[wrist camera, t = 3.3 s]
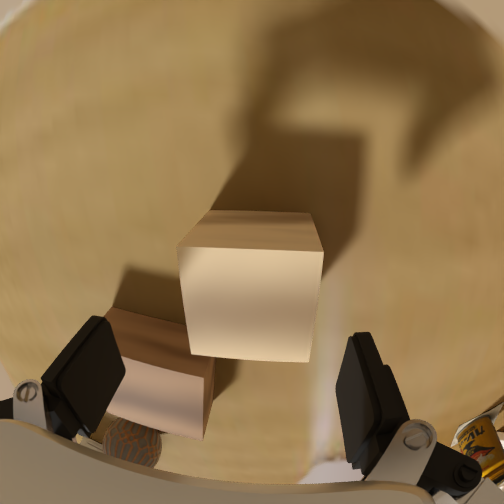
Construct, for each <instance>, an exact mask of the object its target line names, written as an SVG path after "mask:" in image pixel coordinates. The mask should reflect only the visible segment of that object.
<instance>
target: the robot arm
mask: <svg viewBox="0 0 504 504" xmlns="http://www.w3.org/2000/svg"><path fill="white" fill-rule="evenodd" d="M125 373H126V368H125V365H124V363H123V360H122V357H121V354H120V351H119V349H118V346H117V343H116V340H115V337H114V334H113V330H112V327H111V324H110V322H109V321H107V319H106V318H105V317H100V316H91V317H90V318H89V320H88V321H87V322H86V323H85V324H84V325H83V326H82V328H81V329H80V330H79V331H78V332H77V334H76V335H75V336H74V337H73V338H72V339H71V341H70V342H69V343H68V344H67V345H66V347H65V348H64V349H63V350H62V352H61V353H60V354H59V355H58V357H57V358H56V359H55V360H54V362H53V363H52V364H51V365H50V367H49V368H48V369H47V370H46V372H45V373H44V374H43V376H42V377H41V380H42V381H43V382H42V384H40V383H39V382H38V381H36V380H33V379H29V380H25V381H22V382H21V383H19V384H18V385H17V387H16V388H15V390H14V393H13V398H9V399H6V400H3V401H0V504H504V492H503V491H502V490H501V489H500V488H499V487H498V486H497V485H496V484H495V483H493V482H492V481H491V480H490V479H489V478H488V477H487V478H486V479H484V478H483V477H482V468H481V466H480V464H479V463H478V461H476V460H475V459H473V458H471V457H469V456H467V455H464V454H462V453H460V452H458V451H456V450H453V449H451V448H449V447H447V446H445V445H443V444H441V443H439V442H437V434H436V431H435V429H434V428H433V427H432V425H431V424H429V423H428V422H426V421H423V420H420V419H413V420H410V418H409V415H408V412H407V409H406V407H405V404H404V401H403V399H402V396H401V393H400V391H399V388H398V385H397V383H396V380H395V378H394V375H393V373H392V370H391V368H390V366H389V365H383V363H382V360H381V358H380V355H379V353H378V350H377V348H376V345H375V343H374V340H373V338H372V336H371V333H370V332H356V333H354V335H353V336H350V337H349V338H348V342H347V346H346V350H345V354H344V358H343V361H342V365H341V369H340V372H339V376H338V379H337V383H336V397H337V402H338V408H339V414H340V420H341V426H342V432H343V438H344V445H345V452H346V459H347V462H348V463H352V468H353V469H361V472H362V474H363V475H364V477H363V478H362V480H361V481H351V482H335V483H321V484H254V483H240V482H229V481H220V480H212V479H205V478H199V477H192V476H187V475H181V474H176V473H172V472H167V471H162V470H158V469H154V468H150V467H146V466H142V465H139V464H135V463H132V462H128V461H125V460H122V459H119V458H116V457H113V456H110V455H107V454H104V453H101V452H98V451H96V450H93V449H90V448H88V447H85V446H83V445H80V444H78V443H77V441H76V437H75V436H76V434H77V433H78V434H79V435H81V436H84V437H86V438H89V437H90V435H91V433H94V432H95V431H96V429H97V427H98V425H99V423H100V421H101V419H102V417H103V415H104V414H105V412H106V410H107V408H108V406H109V404H110V402H111V400H112V398H113V396H114V395H115V393H116V391H117V389H118V387H119V385H120V384H121V382H122V380H123V378H124V376H125Z"/></svg>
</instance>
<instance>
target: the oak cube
mask: <svg viewBox="0 0 504 504" xmlns="http://www.w3.org/2000/svg"><path fill="white" fill-rule="evenodd" d="M176 248H177V257H178V266H179V274H180V282H181V290H182V297H183V305H184V312H185V318H186V325H187V331H188V337H189V343H190V349H191V354H194V355H202V356H211V357H221V358H232V359H245V360H260V361H279V362H309V357H310V351H311V345H312V339H313V332H314V326H315V319H316V312H317V305H318V298H319V290H320V282H321V274H322V265H323V256H324V251H323V248H322V245H321V242H320V239H319V236H318V233H317V230H316V228H315V225H314V222H313V219H312V216H311V214H310V213H300V212H273V211H235V210H209V211H208V212H207V213H206V214H205V216H204V217H203V218H202V219H201V220H200V221H199V222H198V223H197V224H196V225H195V226H194V227H193V229H192V230H191V231H190V232H189V233H188V234H187V235H186V236H185V237H184V238H183V240H182V241H181V242H180V243H179V244H178V245H177V246H176Z"/></svg>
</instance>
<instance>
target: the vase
mask: <svg viewBox="0 0 504 504" xmlns="http://www.w3.org/2000/svg"><path fill="white" fill-rule="evenodd" d="M161 449H162V442H161V437H160V434H159V432H158V430H157V429H154V428H151V427H147V426H144V425H141V424H138V423H135V422H132V421H129V420H127V419H124V418H121V417H119V418H117V419H116V420H115V421H113V422H112V423H111V424H110V426H109V427H108V429H107V430H106V432H105V434H104V438H103V444H102V450H103V453H104V454H107V455H110V456H113V457H116V458H119V459H122V460H125V461H128V462H132V463H135V464H139V465H142V466H146V467H150V468H154V466H155V465H156V464H157V462H158V460H159V457H160V454H161Z"/></svg>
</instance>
